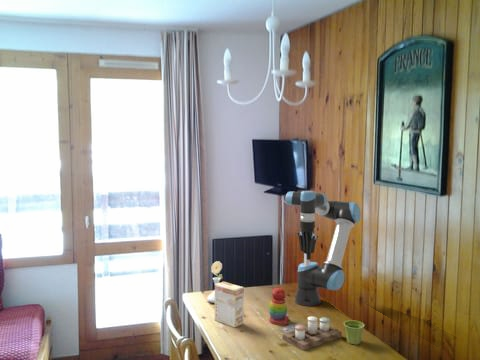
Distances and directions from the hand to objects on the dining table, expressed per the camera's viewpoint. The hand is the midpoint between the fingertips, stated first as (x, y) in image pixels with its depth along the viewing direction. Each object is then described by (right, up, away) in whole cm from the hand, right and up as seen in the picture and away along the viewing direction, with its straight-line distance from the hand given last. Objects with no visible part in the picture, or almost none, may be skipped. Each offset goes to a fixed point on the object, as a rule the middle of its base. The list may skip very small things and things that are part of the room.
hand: (306, 265), depth 233 cm
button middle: (0, -28, -20) cm, 34 cm away
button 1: (-7, -31, -24) cm, 40 cm away
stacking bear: (-15, -30, +1) cm, 33 cm away
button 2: (+6, -30, -15) cm, 34 cm away
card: (-8, -30, -8) cm, 32 cm away
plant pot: (+18, -32, -24) cm, 44 cm away
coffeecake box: (-41, -30, -1) cm, 50 cm away
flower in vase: (-48, -27, +29) cm, 63 cm away
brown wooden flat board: (0, -31, -20) cm, 37 cm away
